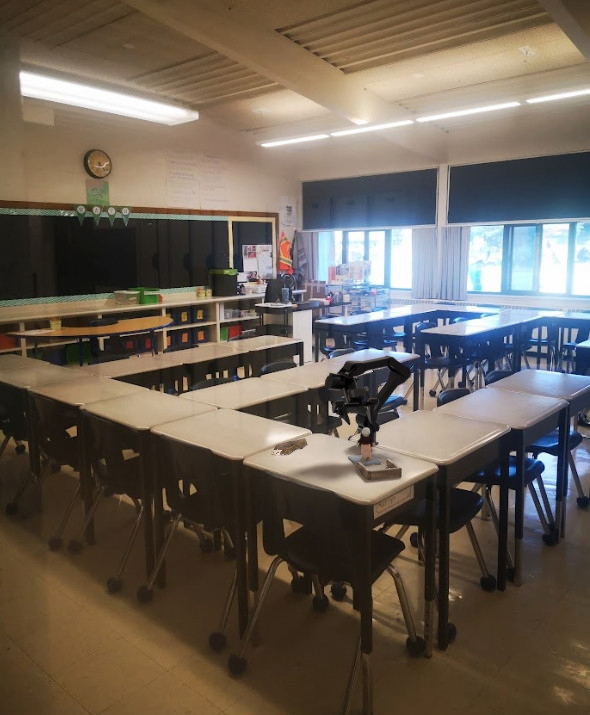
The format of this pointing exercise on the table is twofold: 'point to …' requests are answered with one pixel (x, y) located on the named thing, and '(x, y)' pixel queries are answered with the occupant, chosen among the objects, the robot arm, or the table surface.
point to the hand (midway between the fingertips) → (360, 423)
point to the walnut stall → (380, 471)
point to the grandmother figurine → (365, 444)
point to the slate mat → (364, 462)
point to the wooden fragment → (290, 446)
